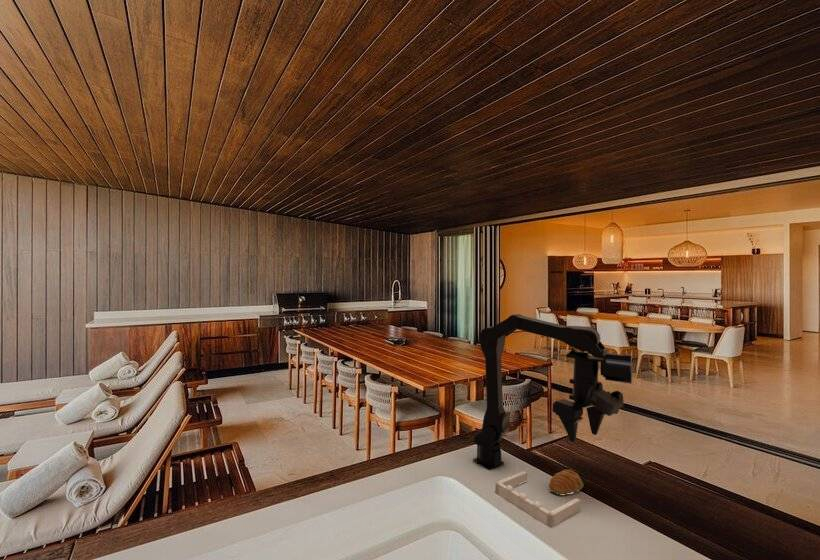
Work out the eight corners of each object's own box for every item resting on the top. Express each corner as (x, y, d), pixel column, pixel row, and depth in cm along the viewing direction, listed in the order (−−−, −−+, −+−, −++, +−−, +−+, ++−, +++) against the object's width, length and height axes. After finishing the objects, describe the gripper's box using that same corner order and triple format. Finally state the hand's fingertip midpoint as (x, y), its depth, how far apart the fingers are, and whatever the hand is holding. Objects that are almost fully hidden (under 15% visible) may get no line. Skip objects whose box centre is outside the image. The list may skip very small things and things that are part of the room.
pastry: (566, 502, 92) (567, 486, 92) (541, 490, 97) (541, 475, 97) (585, 489, 98) (585, 474, 98) (560, 478, 103) (560, 464, 103)
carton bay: (494, 492, 94) (494, 479, 94) (524, 480, 101) (524, 467, 101) (550, 528, 81) (550, 512, 81) (580, 510, 88) (580, 496, 88)
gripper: (594, 389, 85) (592, 459, 85) (637, 380, 95) (635, 442, 95) (551, 378, 94) (549, 440, 94) (595, 370, 104) (593, 427, 104)
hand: (583, 437), depth 96 cm, fingers open, 9 cm apart
